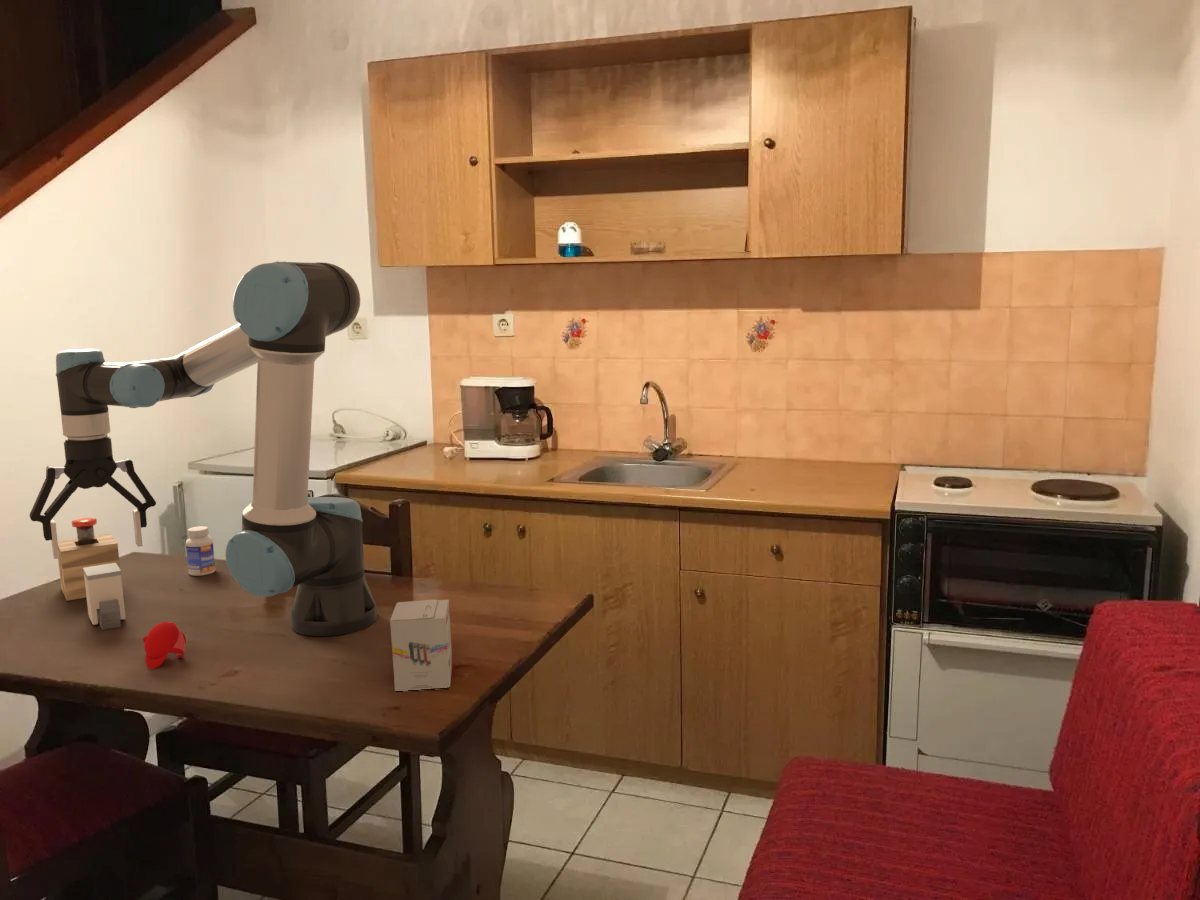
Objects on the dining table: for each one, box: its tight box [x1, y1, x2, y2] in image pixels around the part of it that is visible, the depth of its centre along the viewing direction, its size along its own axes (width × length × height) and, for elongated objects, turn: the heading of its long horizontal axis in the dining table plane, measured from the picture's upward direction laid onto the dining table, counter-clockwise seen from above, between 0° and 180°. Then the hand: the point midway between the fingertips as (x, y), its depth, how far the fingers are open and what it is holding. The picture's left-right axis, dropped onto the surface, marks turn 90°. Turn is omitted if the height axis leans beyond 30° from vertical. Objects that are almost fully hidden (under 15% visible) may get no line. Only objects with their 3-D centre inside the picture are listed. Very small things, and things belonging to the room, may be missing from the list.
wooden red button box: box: [57, 533, 121, 601], centre depth 195 cm, size 9×10×10 cm
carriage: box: [83, 563, 126, 626], centre depth 178 cm, size 6×6×9 cm
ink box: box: [389, 598, 453, 692], centre depth 150 cm, size 9×9×12 cm
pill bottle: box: [185, 525, 216, 577], centre depth 206 cm, size 5×5×10 cm
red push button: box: [71, 517, 98, 546], centre depth 193 cm, size 4×4×5 cm
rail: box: [96, 599, 122, 631], centre depth 183 cm, size 22×3×5 cm, turn 34°
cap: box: [142, 621, 187, 670], centre depth 159 cm, size 8×6×6 cm
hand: (98, 550), depth 176 cm, fingers open, 13 cm apart
